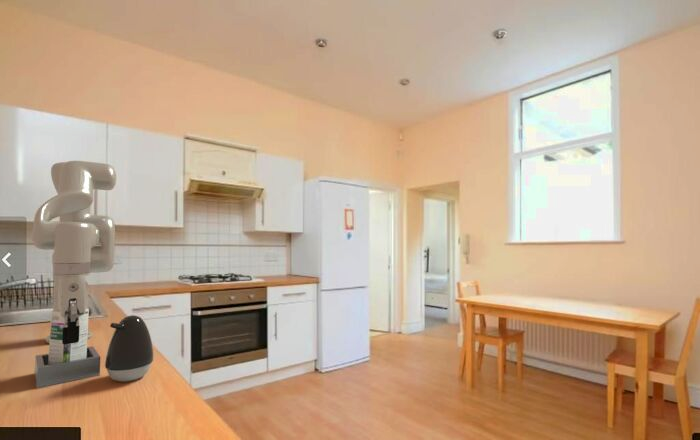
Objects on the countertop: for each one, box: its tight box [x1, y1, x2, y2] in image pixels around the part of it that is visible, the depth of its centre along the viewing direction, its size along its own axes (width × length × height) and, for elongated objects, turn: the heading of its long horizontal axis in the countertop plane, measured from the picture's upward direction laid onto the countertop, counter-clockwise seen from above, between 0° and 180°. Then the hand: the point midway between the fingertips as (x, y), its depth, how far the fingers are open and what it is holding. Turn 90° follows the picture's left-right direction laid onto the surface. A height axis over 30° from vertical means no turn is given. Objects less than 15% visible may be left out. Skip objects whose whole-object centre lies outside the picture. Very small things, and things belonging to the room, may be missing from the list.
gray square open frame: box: [34, 346, 101, 389], centre depth 91 cm, size 12×12×4 cm
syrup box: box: [48, 308, 90, 365], centre depth 92 cm, size 6×6×14 cm
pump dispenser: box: [104, 315, 154, 383], centre depth 90 cm, size 10×10×15 cm
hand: (68, 339), depth 92 cm, fingers closed on syrup box, 8 cm apart
